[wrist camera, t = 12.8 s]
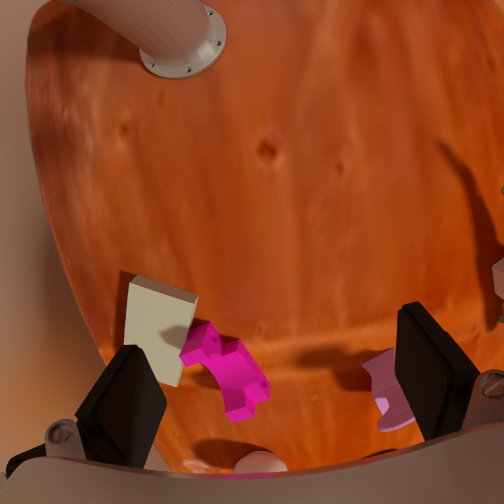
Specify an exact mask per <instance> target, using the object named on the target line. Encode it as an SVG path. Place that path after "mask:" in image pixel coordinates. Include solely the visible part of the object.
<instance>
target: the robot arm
mask: <svg viewBox="0 0 504 504" xmlns="http://www.w3.org/2000/svg"><path fill="white" fill-rule="evenodd" d="M55 1H59V2H63V3H67V4H70V5H73V6H76V7H78V8H80V9H82V10H84V11H86V12H88V13H90V14H91V15H93V16H95V17H96V18H98V19H99V20H101V21H102V22H104V23H105V24H107V25H108V26H109V27H111V28H112V29H113V30H115V31H116V32H118V33H119V34H120V35H122V36H123V37H125V38H126V39H127V40H129V41H130V42H131V43H133V44H134V45H135V46H137V47H138V48H139V53H140V57H141V60H142V62H143V63H144V65H145V66H146V67H147V68H148V69H149V70H150V71H151V72H152V73H154V74H156V75H158V76H160V77H163V78H167V79H183V78H188V77H191V76H194V75H196V74H199V73H201V72H203V71H204V70H206V69H207V68H209V67H210V66H211V65H212V64H213V63H214V62H215V61H216V60H217V59H218V58H219V56H220V55H221V53H222V51H223V50H224V47H225V44H226V41H227V30H226V26H225V23H224V21H223V19H222V17H221V16H220V15H219V14H218V13H217V12H216V11H215V10H214V9H212V8H210V7H208V6H205V5H203V3H202V1H201V0H55ZM211 14H212V15H211ZM218 44H221V45H220V46H218ZM154 65H155V66H154ZM153 66H154V67H153ZM189 70H191V72H189V73H188V71H189ZM394 370H395V376H396V378H397V380H398V383H399V385H400V387H401V389H402V391H403V393H404V395H405V397H406V399H407V402H408V404H409V406H410V408H411V410H412V412H413V415H414V417H415V419H416V421H417V424H418V426H419V428H420V430H421V433H422V435H423V437H424V440H425V442H422V443H419V444H416V445H413V446H409V447H406V448H402V449H399V450H395V451H392V452H388V453H384V454H380V455H376V456H372V457H368V458H363V459H359V460H354V461H349V462H344V463H339V464H334V465H328V466H321V467H315V468H307V469H299V470H291V471H281V472H268V473H251V474H196V473H178V472H165V471H156V470H147V469H143V468H144V465H145V463H146V460H147V457H148V454H149V452H150V449H151V446H152V444H153V441H154V438H155V436H156V433H157V430H158V428H159V425H160V422H161V420H162V417H163V414H164V412H165V409H166V406H167V401H166V397H165V395H164V393H163V391H162V389H161V387H160V385H159V383H158V381H157V379H156V377H155V375H154V373H153V371H152V368H151V366H150V364H149V362H148V360H147V357H146V355H145V353H144V351H143V349H142V348H139V346H138V345H136V344H131V345H122V346H121V347H120V349H119V350H118V351H117V353H116V354H115V356H114V357H113V358H112V360H111V361H110V363H109V364H108V366H107V367H106V369H105V370H104V371H103V373H102V374H101V376H100V377H99V379H98V380H97V382H96V383H95V385H94V386H93V388H92V389H91V391H90V392H89V394H88V395H87V397H86V398H85V400H84V401H83V403H82V404H81V406H80V407H79V409H78V410H77V412H76V413H75V416H76V417H77V419H78V421H77V422H76V423H75V422H74V421H73V420H70V419H62V420H59V421H57V422H55V423H53V424H52V425H51V426H50V427H49V428H48V429H47V431H46V433H45V443H44V444H42V445H40V446H37V447H35V448H33V449H31V450H28V451H26V452H23V453H21V454H18V455H16V456H14V457H12V458H11V459H10V460H9V462H8V464H7V467H6V474H5V473H4V472H2V473H0V504H504V371H503V370H499V369H491V370H487V371H484V372H482V373H480V372H479V371H478V369H477V368H476V367H475V365H474V364H473V363H472V362H471V360H470V359H469V358H468V357H467V355H466V354H465V353H464V352H463V350H462V349H461V348H460V347H459V346H458V344H457V343H456V342H455V341H454V339H453V338H452V337H451V336H450V335H449V334H448V333H447V332H446V331H444V330H443V329H442V328H441V326H440V325H439V324H438V323H437V322H436V321H435V319H434V318H433V317H432V316H431V315H430V314H429V313H428V311H427V310H426V309H425V308H424V307H423V306H422V305H421V304H420V302H418V301H416V302H412V303H408V304H404V305H403V306H402V309H400V310H398V317H397V340H396V355H395V367H394Z"/></svg>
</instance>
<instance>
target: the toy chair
mask: <svg viewBox="0 0 504 504" xmlns="http://www.w3.org/2000/svg"><path fill="white" fill-rule="evenodd" d="M361 366H362V367H363V368H364V369H365V370H367V371H368V373H369V374H370V375H371V378H372V394H373V397H374V399H375V401H376V403H377V405H378V407H379V409H380V411H381V413H382V415H383V416H382V417H381V418H380V419H379V420H378V422H377V426H378V429H379V431H381V432H387V431H392V430H395V429H398V428H401V427H403V426H405V425H407V424H409V423H411V422H412V421H414V420H416V419H415V417H414V415H413V412H412V410H411V408H410V406H409V404H408V402H407V399H406V397H405V395H404V393H403V391H402V389H401V387H400V385H399V383H398V380H397V378H396V376H395V370H394V367H395V355H394V348H392V349H390V350H388V351H386V352H384V353H382V354H381V355H379V356H377V357H375V358H373V359H371V360H369V361H367V362H365V363H364V364H362V365H361Z"/></svg>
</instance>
